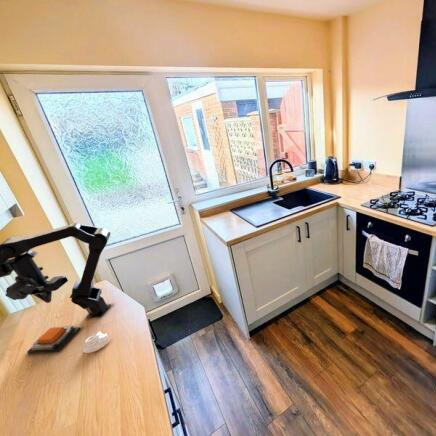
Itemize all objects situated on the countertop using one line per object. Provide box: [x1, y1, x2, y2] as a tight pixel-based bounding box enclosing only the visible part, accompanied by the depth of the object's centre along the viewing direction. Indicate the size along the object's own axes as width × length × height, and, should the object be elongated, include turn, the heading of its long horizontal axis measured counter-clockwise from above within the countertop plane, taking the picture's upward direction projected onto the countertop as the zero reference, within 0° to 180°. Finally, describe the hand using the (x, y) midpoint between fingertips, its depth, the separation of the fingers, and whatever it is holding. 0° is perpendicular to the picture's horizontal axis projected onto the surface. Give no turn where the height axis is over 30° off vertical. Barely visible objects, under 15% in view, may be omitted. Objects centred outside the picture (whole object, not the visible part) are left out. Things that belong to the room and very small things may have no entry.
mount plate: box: [26, 325, 81, 355], centre depth 93 cm, size 12×10×2 cm
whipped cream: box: [82, 331, 110, 354], centre depth 89 cm, size 8×7×5 cm
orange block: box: [36, 326, 66, 344], centre depth 93 cm, size 6×6×3 cm
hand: (49, 302), depth 97 cm, fingers closed
